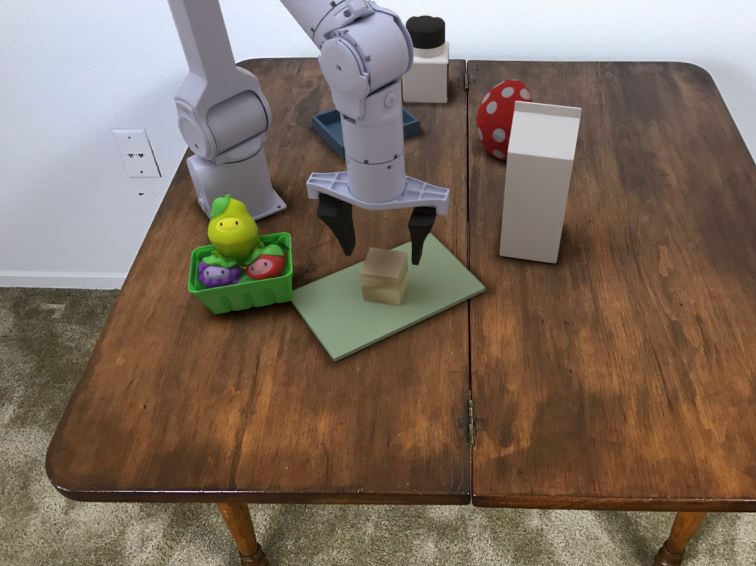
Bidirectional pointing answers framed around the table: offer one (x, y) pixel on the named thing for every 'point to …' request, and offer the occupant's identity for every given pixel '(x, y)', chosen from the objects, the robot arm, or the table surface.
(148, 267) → the table surface
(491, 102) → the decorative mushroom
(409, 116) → the tray
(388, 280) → the block
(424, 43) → the medicine bottle
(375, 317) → the mat
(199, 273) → the fruit basket
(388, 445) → the table surface
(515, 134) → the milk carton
